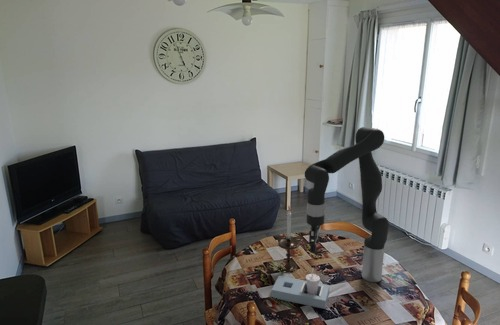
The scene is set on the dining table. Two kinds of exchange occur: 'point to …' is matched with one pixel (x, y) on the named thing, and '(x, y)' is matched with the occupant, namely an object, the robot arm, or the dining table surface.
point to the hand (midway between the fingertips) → (314, 247)
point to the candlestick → (288, 245)
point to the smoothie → (312, 283)
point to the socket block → (299, 292)
